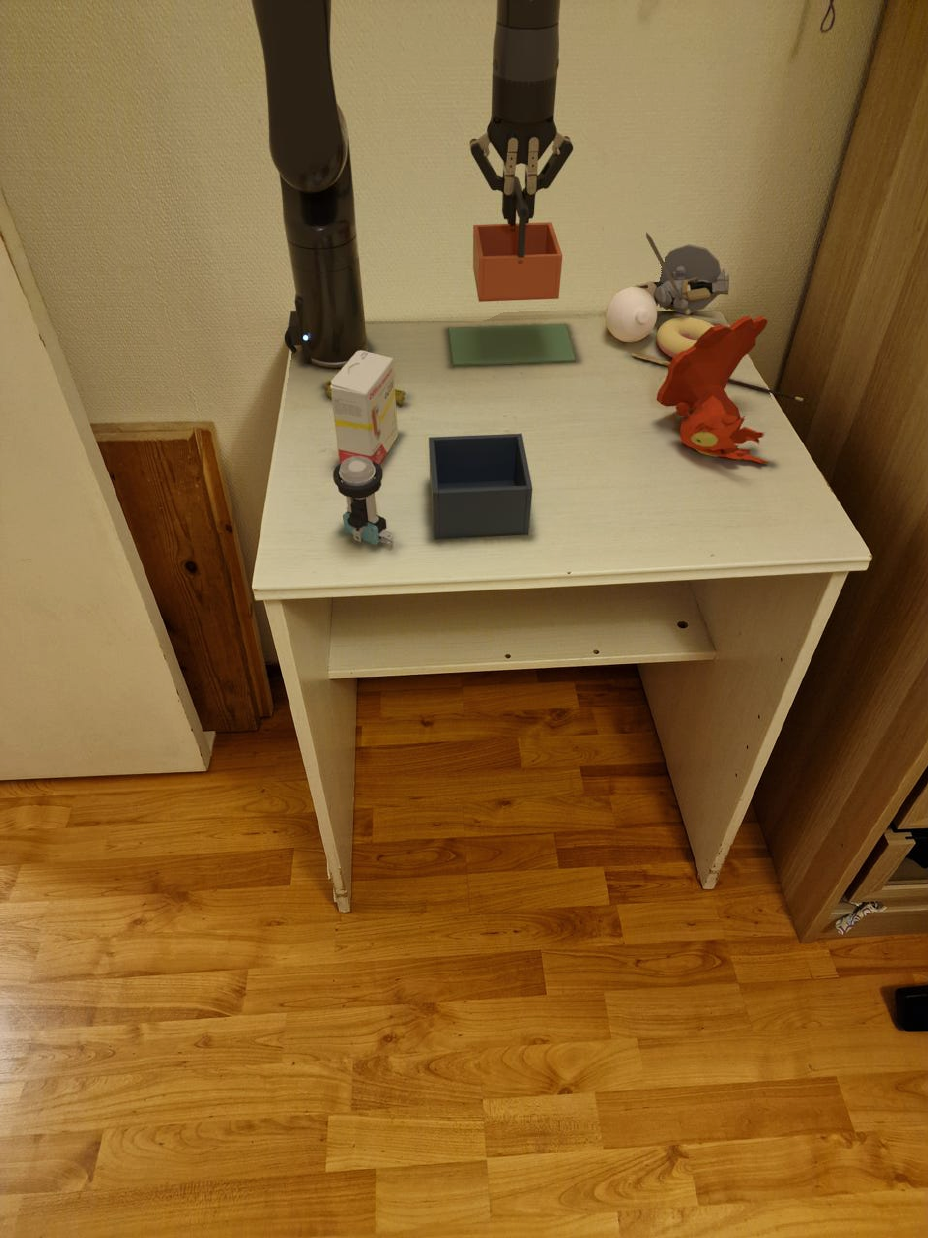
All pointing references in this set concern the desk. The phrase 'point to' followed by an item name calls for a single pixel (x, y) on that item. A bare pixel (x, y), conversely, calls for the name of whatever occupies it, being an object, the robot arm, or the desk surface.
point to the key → (398, 393)
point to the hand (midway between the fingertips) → (517, 220)
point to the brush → (728, 380)
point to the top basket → (516, 258)
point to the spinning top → (631, 314)
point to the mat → (510, 345)
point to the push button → (362, 499)
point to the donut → (680, 334)
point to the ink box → (365, 407)
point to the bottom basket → (479, 486)
